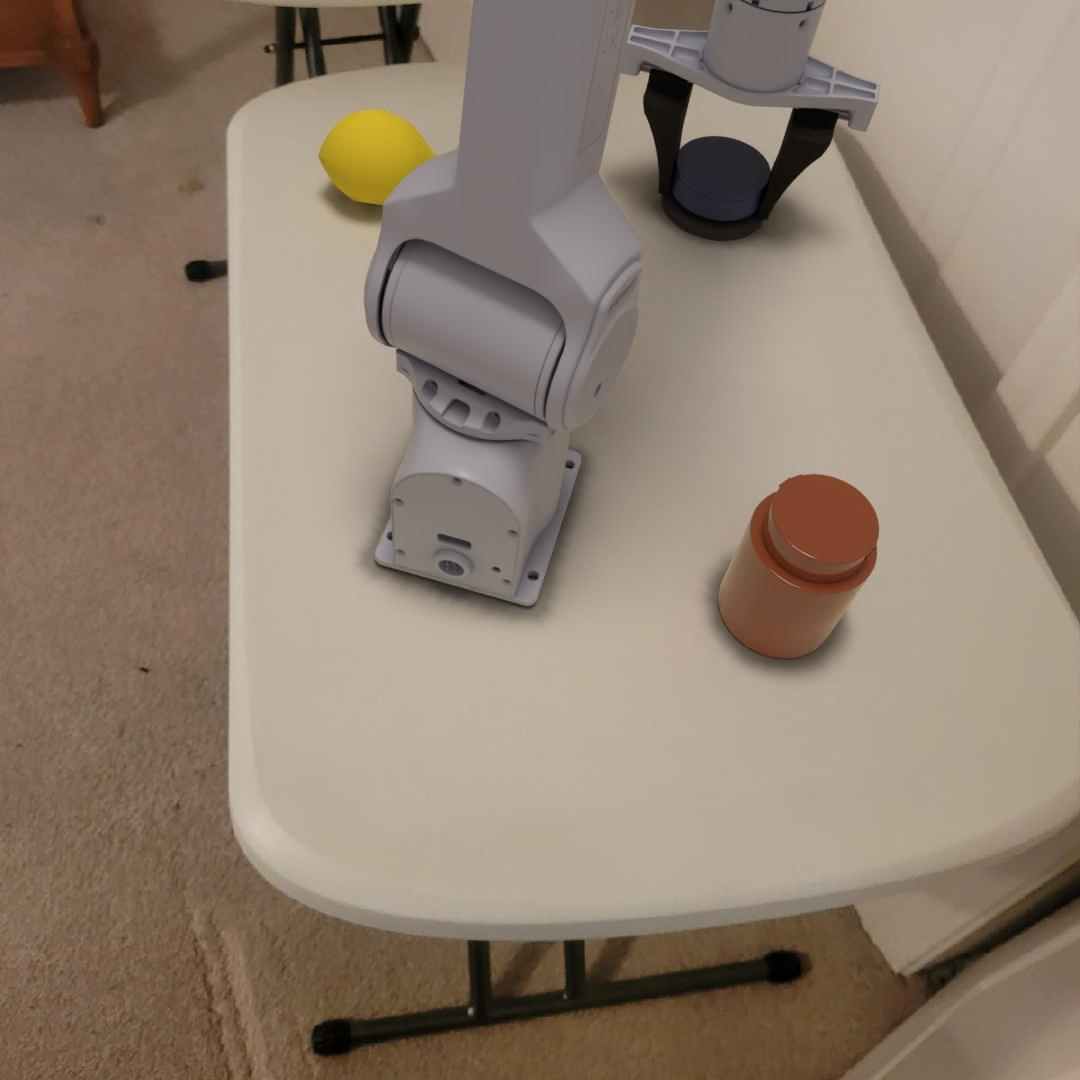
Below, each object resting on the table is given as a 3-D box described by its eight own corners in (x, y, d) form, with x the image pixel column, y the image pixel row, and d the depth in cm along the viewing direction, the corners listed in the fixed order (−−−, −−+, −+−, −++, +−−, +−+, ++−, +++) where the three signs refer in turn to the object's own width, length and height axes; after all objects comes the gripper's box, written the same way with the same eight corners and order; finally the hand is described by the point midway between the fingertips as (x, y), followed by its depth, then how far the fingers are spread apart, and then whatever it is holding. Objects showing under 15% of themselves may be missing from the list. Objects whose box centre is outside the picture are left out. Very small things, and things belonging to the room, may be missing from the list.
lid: (659, 206, 63) (664, 181, 62) (681, 151, 67) (687, 126, 65) (753, 231, 63) (761, 207, 61) (770, 174, 66) (778, 150, 64)
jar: (856, 618, 49) (918, 530, 43) (776, 680, 47) (829, 597, 41) (774, 539, 51) (822, 444, 45) (693, 594, 49) (732, 503, 43)
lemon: (320, 222, 61) (311, 144, 57) (324, 165, 64) (316, 86, 60) (436, 226, 62) (437, 149, 58) (436, 169, 65) (436, 92, 61)
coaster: (756, 251, 64) (759, 244, 63) (650, 225, 64) (652, 217, 64) (771, 186, 67) (774, 178, 67) (671, 161, 68) (673, 153, 67)
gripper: (914, -22, 56) (832, 187, 67) (656, -81, 57) (619, 134, 68) (906, 45, 52) (821, 255, 63) (629, -20, 53) (594, 198, 64)
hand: (714, 197), depth 65 cm, fingers closed on lid, 6 cm apart
